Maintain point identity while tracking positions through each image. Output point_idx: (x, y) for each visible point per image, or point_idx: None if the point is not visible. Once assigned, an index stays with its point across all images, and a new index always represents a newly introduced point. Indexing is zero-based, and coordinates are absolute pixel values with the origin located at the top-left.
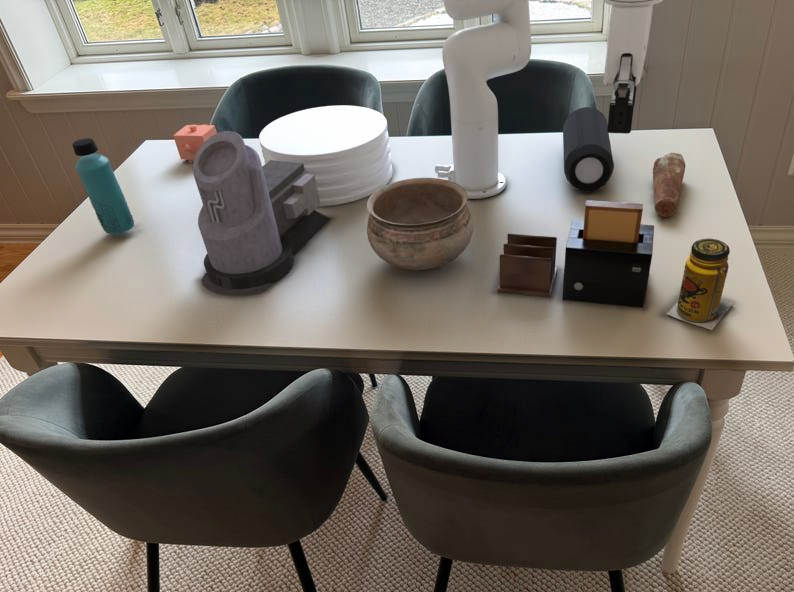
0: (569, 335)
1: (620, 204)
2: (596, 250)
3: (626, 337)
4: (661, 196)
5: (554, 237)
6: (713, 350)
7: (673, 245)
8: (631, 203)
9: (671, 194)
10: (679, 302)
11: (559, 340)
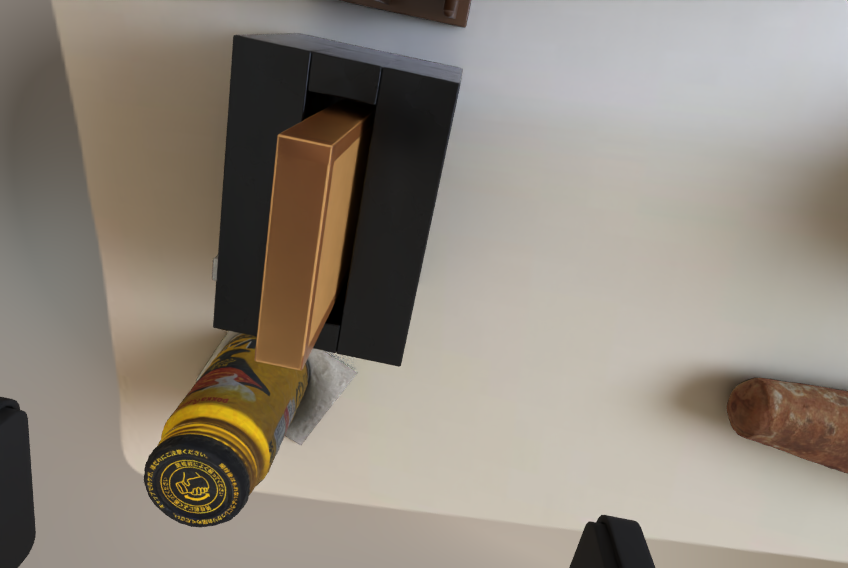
0: (130, 42)
1: (290, 286)
2: (225, 154)
3: (147, 194)
4: (793, 414)
5: (447, 5)
6: (132, 367)
7: (575, 381)
8: (300, 329)
9: (795, 443)
10: (247, 341)
11: (103, 10)
